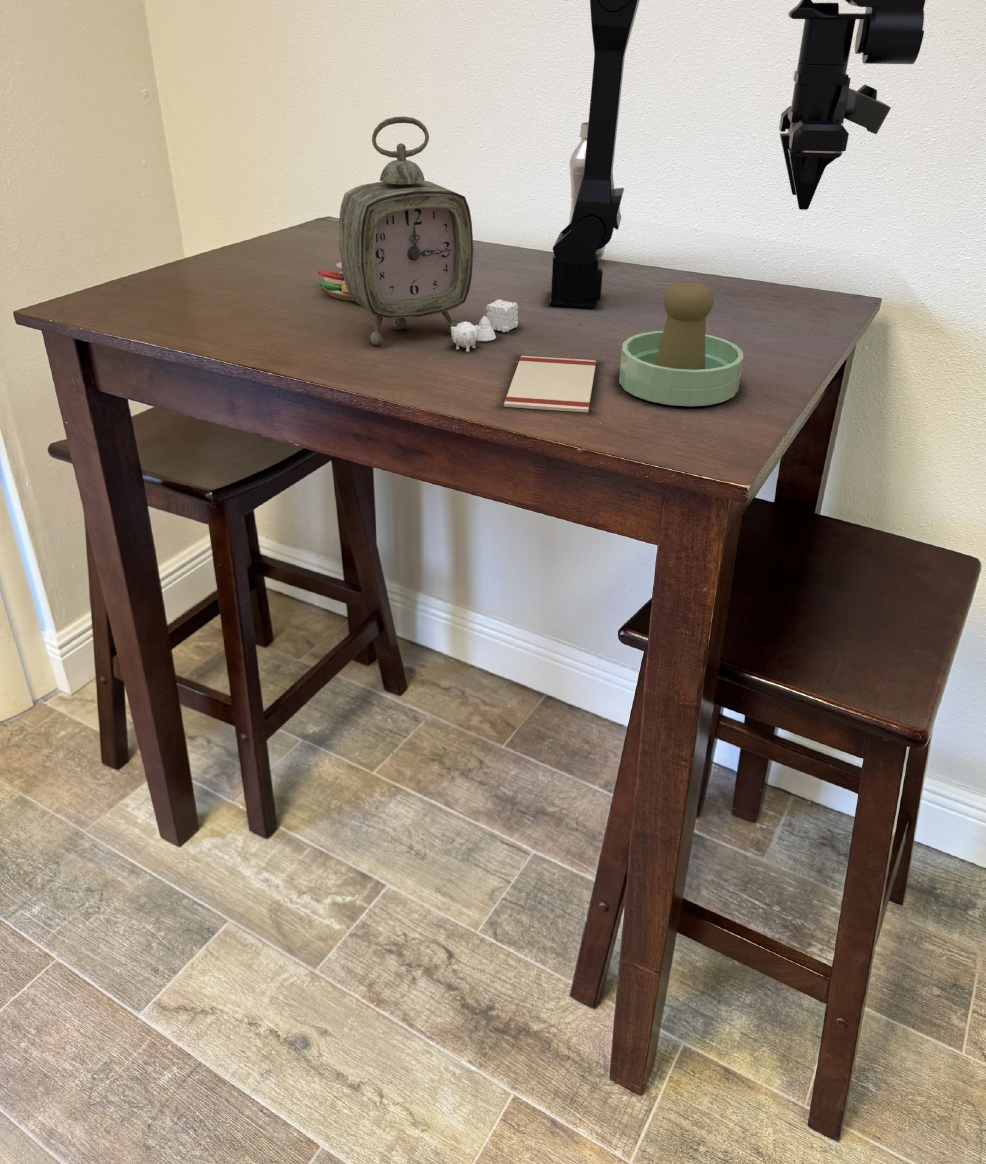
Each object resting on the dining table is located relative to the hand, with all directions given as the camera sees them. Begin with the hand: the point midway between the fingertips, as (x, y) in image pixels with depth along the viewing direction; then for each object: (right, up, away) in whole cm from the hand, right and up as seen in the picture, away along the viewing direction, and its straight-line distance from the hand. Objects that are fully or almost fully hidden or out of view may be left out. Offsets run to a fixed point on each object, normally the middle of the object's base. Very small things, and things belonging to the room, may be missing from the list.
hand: (799, 201), depth 120 cm
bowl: (-19, -27, -15) cm, 36 cm away
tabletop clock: (-50, -17, -1) cm, 53 cm away
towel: (-33, -27, -15) cm, 45 cm away
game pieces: (-41, -18, -2) cm, 45 cm away
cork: (-19, -27, -15) cm, 36 cm away
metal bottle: (-25, +2, +30) cm, 39 cm away
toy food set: (-58, -7, +15) cm, 60 cm away
